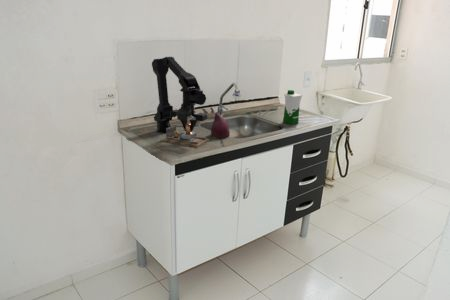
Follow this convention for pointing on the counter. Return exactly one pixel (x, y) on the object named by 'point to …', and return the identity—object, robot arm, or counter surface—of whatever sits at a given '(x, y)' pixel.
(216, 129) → the vegetable
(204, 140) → the press bench
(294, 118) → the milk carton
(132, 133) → the counter surface
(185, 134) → the ram
